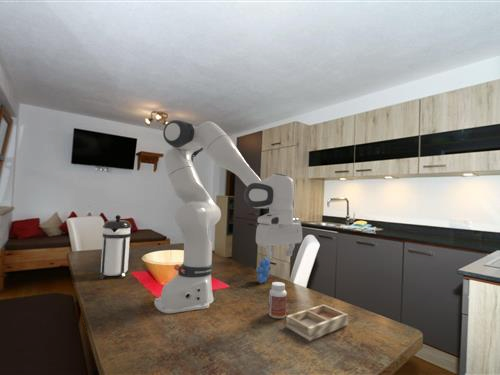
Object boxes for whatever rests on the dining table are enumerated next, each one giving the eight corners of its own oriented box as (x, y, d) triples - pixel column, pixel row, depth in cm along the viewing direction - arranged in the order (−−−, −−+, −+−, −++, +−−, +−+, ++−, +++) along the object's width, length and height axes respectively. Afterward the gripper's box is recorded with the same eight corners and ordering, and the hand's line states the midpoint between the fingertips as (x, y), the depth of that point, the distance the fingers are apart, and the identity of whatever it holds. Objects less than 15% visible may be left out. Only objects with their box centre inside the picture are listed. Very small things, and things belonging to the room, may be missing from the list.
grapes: (261, 278, 138) (262, 255, 138) (273, 280, 134) (274, 257, 135) (249, 283, 128) (250, 258, 128) (261, 286, 124) (263, 260, 125)
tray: (310, 340, 77) (310, 328, 78) (286, 326, 85) (286, 315, 86) (347, 324, 89) (347, 314, 89) (323, 313, 97) (323, 304, 97)
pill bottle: (289, 316, 93) (290, 285, 94) (276, 320, 90) (277, 287, 90) (278, 310, 98) (279, 280, 99) (265, 313, 95) (266, 282, 95)
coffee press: (138, 274, 134) (142, 215, 135) (107, 282, 120) (112, 216, 122) (119, 268, 143) (122, 213, 145) (88, 275, 130) (92, 214, 131)
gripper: (294, 217, 104) (293, 252, 104) (253, 218, 92) (252, 257, 91) (307, 218, 99) (305, 255, 99) (265, 219, 87) (263, 261, 86)
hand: (279, 257), depth 95 cm, fingers open, 8 cm apart
